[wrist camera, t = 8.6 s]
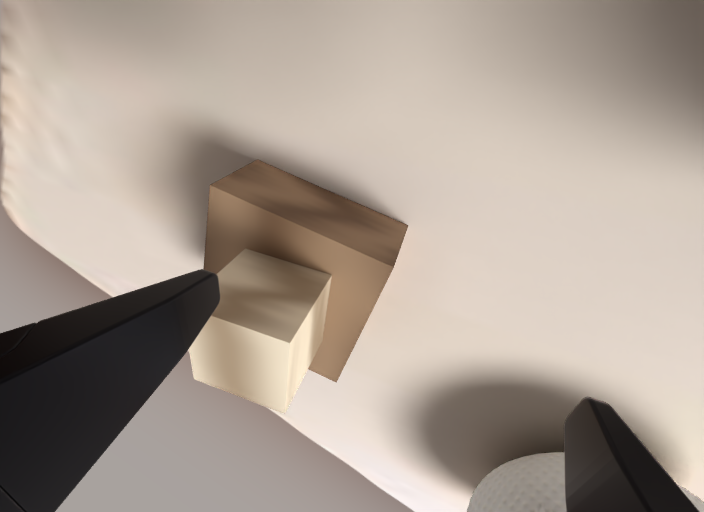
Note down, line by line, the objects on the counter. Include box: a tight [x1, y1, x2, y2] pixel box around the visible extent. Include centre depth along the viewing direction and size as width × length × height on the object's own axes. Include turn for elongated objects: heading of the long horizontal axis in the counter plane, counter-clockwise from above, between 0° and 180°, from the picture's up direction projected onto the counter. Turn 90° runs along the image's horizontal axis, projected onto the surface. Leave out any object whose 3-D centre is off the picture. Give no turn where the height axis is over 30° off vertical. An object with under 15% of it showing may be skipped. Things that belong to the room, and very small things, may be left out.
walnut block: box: [204, 160, 408, 382], centre depth 22 cm, size 10×10×5 cm
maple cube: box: [189, 249, 332, 414], centre depth 18 cm, size 5×5×5 cm
